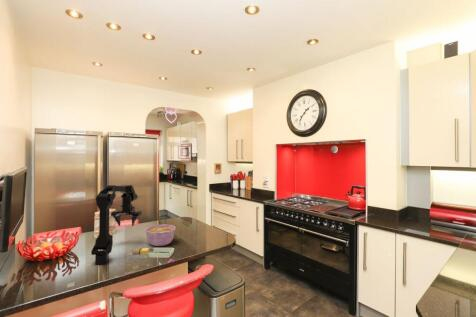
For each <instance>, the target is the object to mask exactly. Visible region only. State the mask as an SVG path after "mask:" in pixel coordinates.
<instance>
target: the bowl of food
mask: <svg viewBox="0 0 476 317" xmlns="http://www.w3.org/2000/svg"><path fill="white" fill-rule="evenodd" d="M175 231H176V226H175V225H173V224H165V223H163V224H155V225H151V226H148V227H146V228H145V233H146V237H147V240H148V243H149V244H150V245H151V246H152V247H153V246H154V247H163V246H167V245H169V244H171V242H172V241H173V238H174V236H175Z"/></svg>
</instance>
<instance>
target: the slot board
mask: <svg viewBox="0 0 476 317" xmlns="http://www.w3.org/2000/svg"><path fill="white" fill-rule="evenodd" d="M135 248H136V247H133V248H131V252H129V253H125V254H124V258H125V259H126V258H127V259H133V258H134V259H148V258H149V257H148V254H132V250H133V249H135ZM141 248H142V249H143V248H144V247H141ZM148 248H149V253H155V252H154V248H155V247H151V248H150V247H148Z"/></svg>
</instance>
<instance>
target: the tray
mask: <svg viewBox="0 0 476 317" xmlns="http://www.w3.org/2000/svg"><path fill="white" fill-rule="evenodd" d="M153 248H154V252H153V253H148V258H165V259H166V258H171V257H172V255H173V254H174V253H175V248H174V247H153Z"/></svg>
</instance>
